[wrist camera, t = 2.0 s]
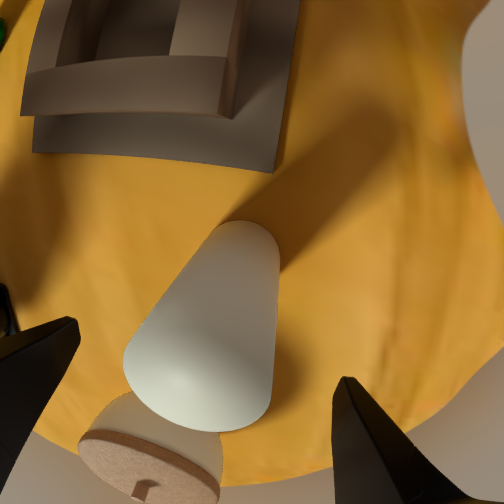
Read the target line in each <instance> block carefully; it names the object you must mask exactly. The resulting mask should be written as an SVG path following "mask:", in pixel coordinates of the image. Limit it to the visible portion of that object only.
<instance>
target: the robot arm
mask: <svg viewBox="0 0 504 504" xmlns="http://www.w3.org/2000/svg"><path fill="white" fill-rule="evenodd" d="M80 341H81V336H80V331H79V326H78V321H77V320H76V319H75V318H72V317H69V316H65V317H62V318H59V319H56V320H53V321H50V322H48V323H45V324H42V325H39V326H36V327H33V328H30V329H27V330H24V331H21V332H18V330H17V327H16V323H15V320H14V316H13V313H12V309H11V305H10V301H9V297H8V292H7V289H6V287H5V286H4V285H3V284H0V494H1V492H2V490H3V487H4V485H5V483H6V481H7V479H8V477H9V474H10V472H11V470H12V468H13V466H14V464H15V462H16V461H15V460H17V458H18V456H19V454H20V452H21V450H22V448H23V446H24V444H25V442H26V441H27V439H28V437H29V435H30V433H31V431H32V429H33V428H34V426H35V424H36V422H37V420H38V419H39V417H40V415H41V413H42V412H43V410H44V408H45V407H46V405H47V403H48V401H49V400H50V398H51V396H52V395H53V393H54V391H55V390H56V388H57V386H58V385H59V383H60V382H61V380H62V378H63V376H64V375H65V373H66V371H67V369H68V367H69V365H70V362H71V360H72V358H73V356H74V354H75V352H76V350H77V348H78V346H79V344H80ZM331 443H332V456H333V470H334V486H335V504H504V502H494V501H485V500H478V499H475V498H472V497H470V496H468V495H466V494H465V493H464V492H463V491H461V490H460V489H459V488H458V487H457V486H456V485H455V484H453V483H452V482H451V481H450V480H449V479H448V478H447V477H445V476H444V475H443V474H442V473H441V472H440V471H439V470H438V469H437V468H436V467H435V466H434V465H433V464H432V463H430V461H429V460H428V459H427V458H426V457H425V456H424V455H423V454H422V453H421V452H420V451H419V450H418V449H417V447H416V446H414V444H413V443H412V442H411V441H410V439H409V438H408V437H407V436H406V435H405V434H404V433H403V432H402V430H401V429H400V428H399V427H398V426H397V425H396V424H395V423H394V421H393V420H392V419H391V418H390V417H389V416H388V415H387V414H386V412H385V411H384V410H383V409H382V408H381V407H380V406H379V404H378V403H377V402H376V401H375V400H374V399H373V398H372V396H371V395H370V394H369V393H368V392H367V391H366V390H365V389H364V387H363V386H362V385H361V384H360V383H359V382H358V381H357V379H356V378H354V377H347V376H343V377H342V378H341V379H340V381H339V383H338V385H337V388H336V390H335V392H334V395H333V400H332V431H331Z"/></svg>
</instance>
